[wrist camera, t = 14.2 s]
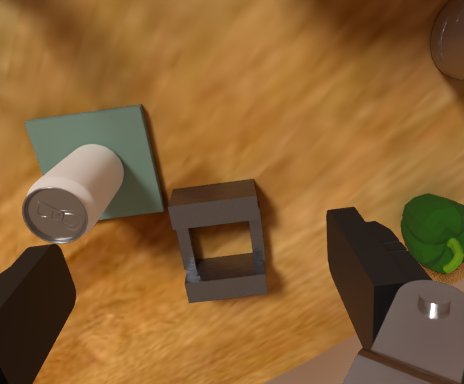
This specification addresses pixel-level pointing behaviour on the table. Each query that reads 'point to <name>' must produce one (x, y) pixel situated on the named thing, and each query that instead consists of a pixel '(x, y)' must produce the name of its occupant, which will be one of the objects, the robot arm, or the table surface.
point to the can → (73, 194)
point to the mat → (114, 138)
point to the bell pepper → (434, 232)
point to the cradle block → (214, 213)
